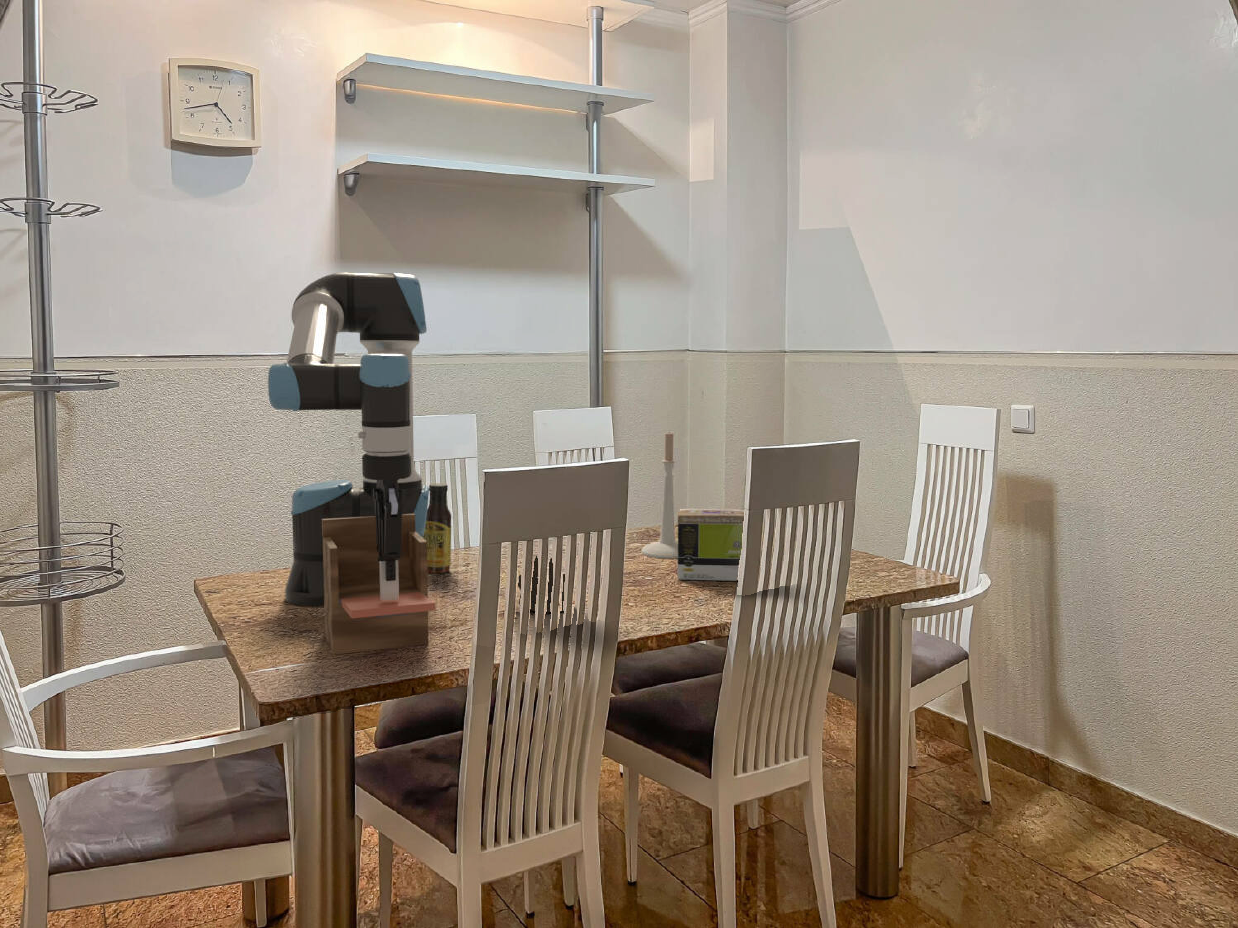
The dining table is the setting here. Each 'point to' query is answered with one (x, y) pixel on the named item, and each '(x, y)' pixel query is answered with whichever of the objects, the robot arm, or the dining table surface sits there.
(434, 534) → the sauce bottle
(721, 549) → the tea box
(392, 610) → the panel
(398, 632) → the wooden box
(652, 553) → the candlestick
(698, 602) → the dining table surface
